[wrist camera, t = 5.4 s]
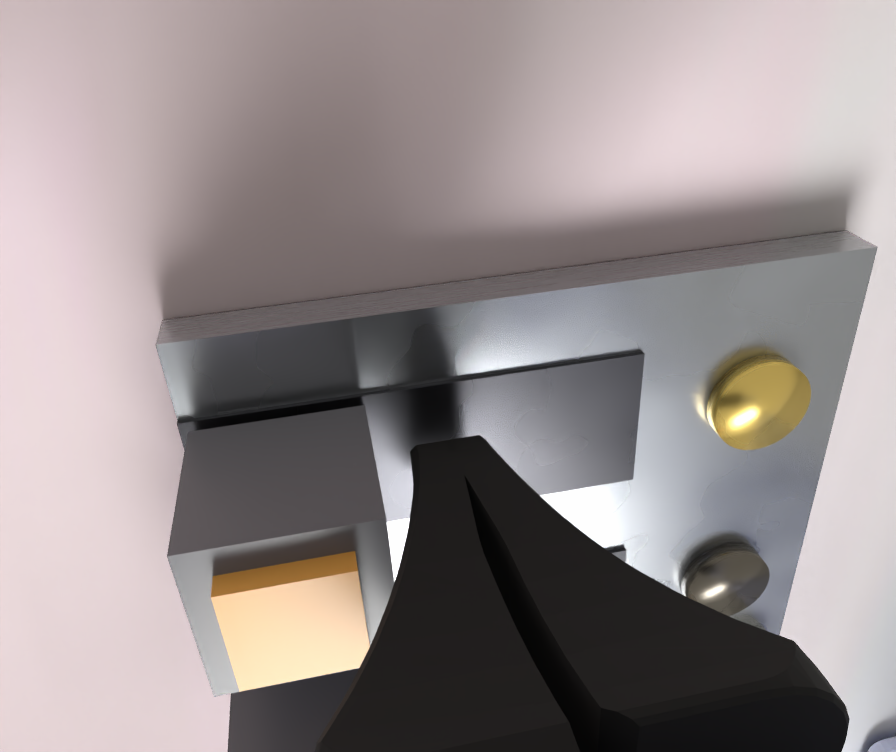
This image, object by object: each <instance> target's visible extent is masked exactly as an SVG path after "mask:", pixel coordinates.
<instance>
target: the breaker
mask: <svg viewBox="0 0 896 752" xmlns="http://www.w3.org/2000/svg"><path fill="white" fill-rule="evenodd" d="M358 670H359V668H357V669H352V670H347V671H342V672H337V673H332V674H327V675H322V676H317V677H312V678H307V679H302V680H297V681H292V682H286V683H281V684H276V685H271V686H266V687H261V688H256V689H251V690H246V691H241V692H236V693H231V702H230V720H229V739H228V752H314V751H315V747H316V743H317V741H318V739H319V738H320V736H321V734H322V733H323V731H324V729H325V728H326V726H327V725H328V723H329V721H330V720H331V718H332V716H333V715H334V713H335V712H336V710H337V708H338V707H339V705H340V703H341V702H342V700H343V698H344V697H345V695H346V693H347V691H348V689H349V688H350V686H351V684H352V682H353V680H354V678H355V676H356V674H357V672H358Z"/></svg>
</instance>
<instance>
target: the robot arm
mask: <svg viewBox="0 0 896 752" xmlns="http://www.w3.org/2000/svg"><path fill="white" fill-rule="evenodd" d="M410 455H411V465H412V475H413V498H412V505H411V512H410V520H409V526H408V531H407V535H406V540H405V544H404V549H403V553H402V557H401V561H400V565H399V569H398V572H397V576H396V579H395V582H394V585H393V588H392V591H391V594H390V597H389V600H388V603H387V606H386V608H385V611H384V614H383V616H382V619H381V621H380V624H379V626H378V629H377V631H376V634H375V636H374V638H373V641H372V643H371V645H370V647H369V650H368V652H367V654H366V656H365V658H364V660H363V662H362V664H361V666H360V668H359V670H358V672H357V674H356V676H355V678H354V680H353V682H352V684H351V686H350V688H349V689H348V691H347V693H346V695H345V697H344V698H343V700H342V702H341V703H340V705H339V707H338V708H337V710H336V712H335V713H334V715H333V716H332V718H331V720H330V721H329V723H328V725H327V726H326V728H325V729H324V731H323V733H322V734H321V736H320V738H319V739H318V741H317V743H316V747H315V751H314V752H841V751H842V749H843V746H844V743H845V740H846V736H847V730H848V724H849V716H848V713H847V709H846V706H845V704H844V703H843V701H842V700H841V699H840V697H839V696H838V695H837V693H836V692H835V691H834V689H833V688H832V686H831V685H830V684H829V682H828V681H827V679H826V678H825V677H824V676H823V674H822V673H821V672H820V671H819V669H818V668H817V667H816V666H815V664H814V663H813V662H812V661H811V660H810V659H809V658H808V657H807V656H806V655H805V653H804V652H803V651H802V650H801V649H800V648H799V646H798V645H797V644H796V643H795V642H794V641H792V640H790V639H787V638H784V637H782V636H779V635H776V634H774V633H771V632H768V631H766V630H763V629H760V628H758V627H755V626H753V625H750V624H747V623H745V622H742V621H739V620H737V619H734V618H732V617H729V616H727V615H725V614H723V613H720V612H718V611H716V610H714V609H712V608H710V607H707V606H705V605H703V604H701V603H699V602H696V601H694V600H692V599H690V598H688V597H686V596H684V595H682V594H680V593H678V592H676V591H674V590H673V589H671V588H669V587H667V586H665V585H664V584H662V583H660V582H658V581H656V580H655V579H653V578H651V577H649V576H647V575H646V574H644V573H642V572H640V571H639V570H637V569H635V568H634V567H632V566H630V565H629V564H627V563H625V562H624V561H622V560H621V559H619V558H618V557H616V556H615V555H614V554H612V553H611V552H609V551H608V550H606V549H605V548H603V547H602V546H601V545H599V544H598V543H596V542H595V541H594V540H592V539H591V538H590V537H588V536H587V535H586V534H584V533H583V532H582V531H581V530H579V529H578V528H577V527H576V526H574V525H573V524H572V523H571V522H570V521H568V520H567V519H566V518H565V517H563V516H562V515H561V514H560V513H559V512H558V511H556V510H555V509H554V508H553V507H552V506H551V505H550V504H548V503H547V502H546V501H545V500H544V499H543V498H542V497H541V496H540V495H539V494H538V493H537V492H535V491H534V490H533V489H532V488H531V487H530V486H529V485H528V484H527V483H526V482H525V481H524V480H523V479H522V478H521V477H520V476H519V475H518V474H517V473H516V472H515V471H514V470H513V469H512V468H511V467H510V466H509V465H508V464H507V463H506V462H505V461H504V460H503V458H502V457H501V456H500V455H499V454H498V453H497V452H496V451H495V450H494V449H493V447H492V446H491V445H490V444H489V443H488V442H487V440H486V439H484V438H483V437H482V436H480V435H475V436H469V437H463V438H457V439H450V440H444V441H438V442H432V443H425V444H419V445H416V446H415V447H414V448H413V449H412V450H411V451H410ZM868 752H896V736H895V737H891V738H887V739H883V740H880V741H878V742H876V743H874V744H873V745H872V746H871V747H870V748H869V750H868Z"/></svg>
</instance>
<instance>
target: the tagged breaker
mask: <svg viewBox="0 0 896 752" xmlns="http://www.w3.org/2000/svg"><path fill="white" fill-rule="evenodd" d="M167 558H168V561H169V564H170V567H171V569H172V572H173V575H174V578H175V581H176V584H177V587H178V590H179V593H180V596H181V599H182V602H183V605H184V608H185V611H186V614H187V617H188V620H189V623H190V626H191V629H192V632H193V635H194V638H195V641H196V644H197V647H198V650H199V653H200V656H201V659H202V662H203V665H204V668H205V671H206V674H207V677H208V680H209V683H210V686H211V689H212V692H213V695H214V697H216V696H221V695H226V694H231V693H236V692H241V691H246V690H251V689H256V688H261V687H266V686H271V685H276V684H281V683H286V682H292V681H297V680H302V679H307V678H312V677H317V676H322V675H327V674H332V673H337V672H342V671H347V670H352V669H357V668H360V666H361V664H362V662H363V660H364V658H365V656H366V654H367V652H368V650H369V647H370V645H371V643H372V641H373V638H374V636H375V634H376V631H377V629H378V626H379V624H380V621H381V619H382V616H383V614H384V611H385V608H386V606H387V603H388V600H389V597H390V594H391V591H392V588H393V585H394V575H393V567H392V559H391V551H390V544H389V536H388V528H387V520H386V514H385V509H384V504H383V498H382V493H381V488H380V482H379V477H378V472H377V467H376V461H375V456H374V451H373V445H372V440H371V435H370V430H369V424H368V419H367V414H366V409H365V405H362V406H355V407H349V408H342V409H335V410H329V411H322V412H316V413H309V414H302V415H296V416H289V417H283V418H276V419H269V420H263V421H256V422H250V423H243V424H236V425H230V426H223V427H217V428H210V429H203V430H197V431H190V432H188V435H187V440H186V446H185V452H184V458H183V464H182V470H181V476H180V482H179V488H178V494H177V500H176V506H175V512H174V518H173V524H172V530H171V536H170V542H169V548H168V554H167Z"/></svg>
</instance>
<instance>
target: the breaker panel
mask: <svg viewBox="0 0 896 752" xmlns="http://www.w3.org/2000/svg"><path fill="white" fill-rule="evenodd" d="M876 251H877V246H875V245H873V244H871V243H869V242H867V241H865V240H864V239H862V238H860V237H858V236H856V235H854V234H853V233H851V232H849V231H839V232H832V233H824V234H817V235H809V236H801V237H794V238H786V239H778V240H771V241H763V242H756V243H748V244H740V245H733V246H725V247H718V248H710V249H702V250H695V251H687V252H679V253H672V254H664V255H657V256H649V257H641V258H634V259H626V260H619V261H611V262H603V263H596V264H588V265H581V266H573V267H565V268H558V269H550V270H542V271H535V272H527V273H520V274H512V275H504V276H497V277H489V278H482V279H474V280H466V281H459V282H451V283H443V284H436V285H428V286H421V287H413V288H405V289H398V290H390V291H383V292H375V293H367V294H360V295H352V296H345V297H337V298H329V299H322V300H314V301H306V302H299V303H291V304H284V305H276V306H268V307H261V308H253V309H246V310H238V311H230V312H223V313H215V314H207V315H200V316H192V317H185V318H177V319H169V320H162V324H161V327H160V331H159V335H158V338H157V342H156V348H157V351H158V355H159V358H160V362H161V365H162V368H163V372H164V375H165V379H166V382H167V386H168V389H169V393H170V396H171V400H172V403H173V407H174V410H175V414H176V417H177V420H178V421H177V426H178V429H179V433H180V436H181V440H182V443H183V446H184V450H185V446H186V440H187V435H188V432H190V431H197V430H203V429H210V428H217V427H223V426H230V425H236V424H243V423H250V422H256V421H263V420H269V419H276V418H283V417H289V416H296V415H302V414H309V413H316V412H322V411H329V410H335V409H342V408H349V407H355V406H362V405H365V409H366V414H367V419H368V424H369V430H370V435H371V440H372V445H373V451H374V456H375V461H376V467H377V472H378V477H379V482H380V488H381V493H382V498H383V504H384V509H385V514H386V520H387V528H388V536H389V544H390V551H391V559H392V567H393V575H394V582H395V579H396V576H397V572H398V569H399V565H400V561H401V557H402V553H403V549H404V544H405V540H406V535H407V531H408V526H409V520H410V512H411V505H412V498H413V475H412V465H411V455H410V451H411V450H412V449H413V448H414V447H415V446H416V445H419V444H425V443H432V442H438V441H444V440H450V439H457V438H463V437H469V436H475V435H480V436H482V437H483V438H484V439H486V440H487V442H488V443H489V444H490V445H491V446H492V447H493V449H494V450H495V451H496V452H497V453H498V454H499V455H500V456H501V457H502V458H503V460H504V461H505V462H506V463H507V464H508V465H509V466H510V467H511V468H512V469H513V470H514V471H515V472H516V473H517V474H518V475H519V476H520V477H521V478H522V479H523V480H524V481H525V482H526V483H527V484H528V485H529V486H530V487H531V488H532V489H533V490H534V491H535V492H537V493H538V494H539V495H540V496H541V497H542V498H543V499H544V500H545V501H546V502H547V503H548V504H550V505H551V506H552V507H553V508H554V509H555V510H556V511H558V512H559V513H560V514H561V515H562V516H563V517H565V518H566V519H567V520H568V521H570V522H571V523H572V524H573V525H574V526H576V527H577V528H578V529H579V530H581V531H582V532H583V533H584V534H586V535H587V536H588V537H590V538H591V539H592V540H594V541H595V542H596V543H598V544H599V545H601V546H602V547H603V548H605V549H606V550H608V551H609V552H611V553H612V554H614V555H615V556H616V557H618V558H619V559H621V560H622V561H624V562H625V563H627V564H629V565H630V566H632V567H634V568H635V569H637V570H639V571H640V572H642V573H644V574H646V575H647V576H649V577H651V578H653V579H655V580H656V581H658V582H660V583H662V584H664V585H665V586H667V587H669V588H671V589H673V590H674V591H676V592H678V593H680V594H682V595H684V596H686V597H688V598H690V599H692V600H694V601H696V602H699V603H701V604H703V605H705V606H707V607H710V608H712V609H714V610H716V611H718V612H720V613H723V614H725V615H727V616H729V617H732V618H734V619H737V620H739V621H742V622H745V623H747V624H750V625H753V626H755V627H758V628H760V629H763V630H766V631H768V632H771V633H774V634H776V635H779V634H780V630H781V626H782V622H783V619H784V615H785V611H786V607H787V603H788V599H789V595H790V591H791V587H792V583H793V579H794V575H795V571H796V567H797V563H798V559H799V555H800V551H801V547H802V544H803V540H804V536H805V532H806V528H807V524H808V520H809V516H810V512H811V508H812V504H813V500H814V496H815V492H816V488H817V484H818V480H819V476H820V472H821V468H822V465H823V461H824V457H825V453H826V449H827V445H828V441H829V437H830V433H831V429H832V425H833V421H834V417H835V413H836V409H837V405H838V401H839V397H840V393H841V390H842V386H843V382H844V378H845V374H846V370H847V366H848V362H849V358H850V354H851V350H852V346H853V342H854V338H855V334H856V330H857V326H858V322H859V318H860V314H861V311H862V307H863V303H864V299H865V295H866V291H867V287H868V283H869V279H870V275H871V271H872V267H873V263H874V259H875V255H876Z"/></svg>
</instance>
